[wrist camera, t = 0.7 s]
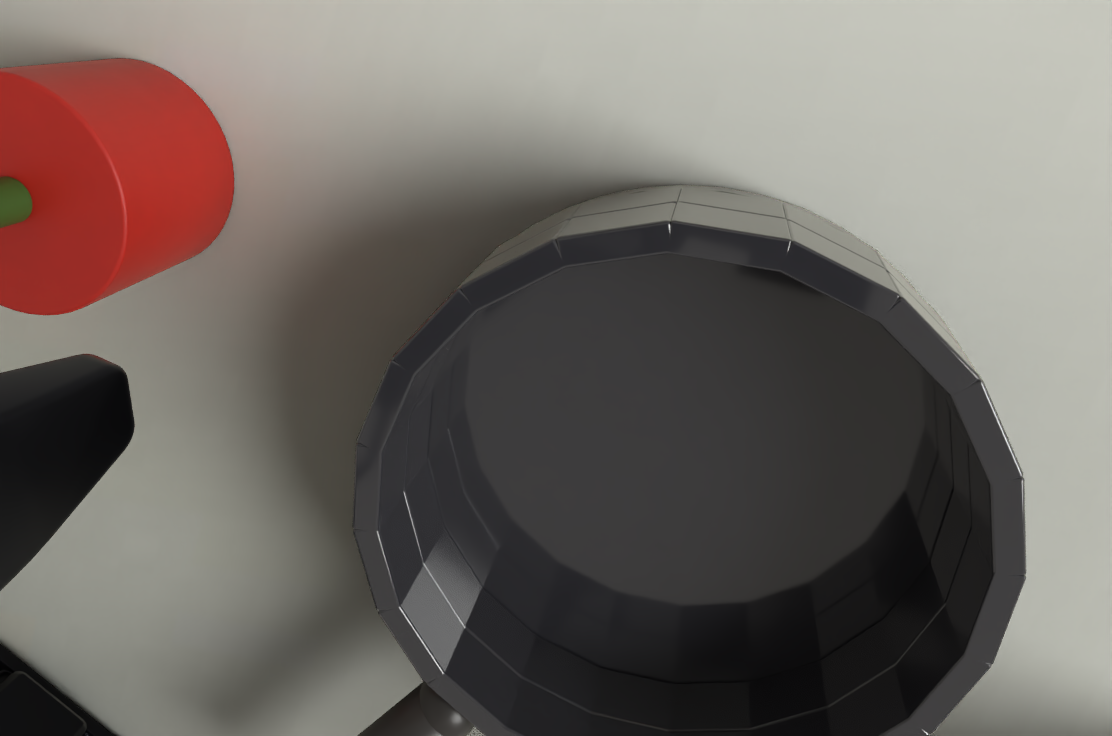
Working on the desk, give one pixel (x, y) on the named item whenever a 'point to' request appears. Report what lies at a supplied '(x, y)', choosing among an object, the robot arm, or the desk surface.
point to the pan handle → (420, 717)
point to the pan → (690, 483)
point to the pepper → (103, 180)
